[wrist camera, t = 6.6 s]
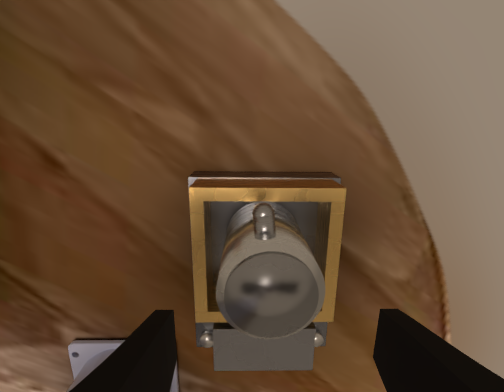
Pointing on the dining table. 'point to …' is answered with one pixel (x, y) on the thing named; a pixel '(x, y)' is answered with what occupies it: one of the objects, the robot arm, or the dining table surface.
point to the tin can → (268, 274)
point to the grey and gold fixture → (211, 248)
